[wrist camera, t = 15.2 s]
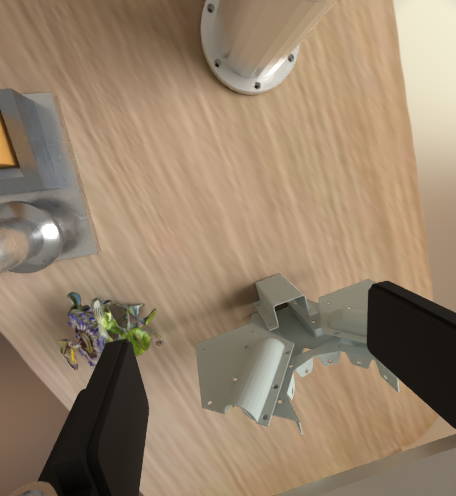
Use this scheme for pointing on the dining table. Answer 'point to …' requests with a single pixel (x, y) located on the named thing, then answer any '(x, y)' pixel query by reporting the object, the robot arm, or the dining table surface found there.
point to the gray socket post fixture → (41, 188)
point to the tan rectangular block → (6, 148)
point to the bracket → (283, 348)
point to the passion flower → (103, 329)
